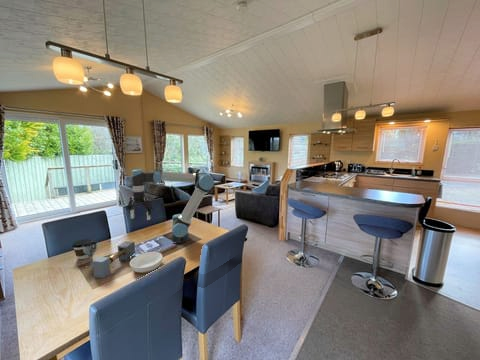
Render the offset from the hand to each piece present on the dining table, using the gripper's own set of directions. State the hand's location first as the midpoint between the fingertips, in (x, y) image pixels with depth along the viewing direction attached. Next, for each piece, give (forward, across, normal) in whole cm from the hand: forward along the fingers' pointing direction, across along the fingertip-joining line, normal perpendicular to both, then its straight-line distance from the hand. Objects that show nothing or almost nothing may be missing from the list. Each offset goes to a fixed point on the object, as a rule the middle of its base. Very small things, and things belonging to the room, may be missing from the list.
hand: (140, 218), depth 144 cm
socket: (+27, +6, +30) cm, 40 cm away
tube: (+22, +6, +20) cm, 31 cm away
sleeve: (+27, +6, +9) cm, 29 cm away
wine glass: (+27, +23, +21) cm, 41 cm away
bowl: (+27, -16, +17) cm, 36 cm away
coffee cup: (+27, +37, +15) cm, 48 cm away
